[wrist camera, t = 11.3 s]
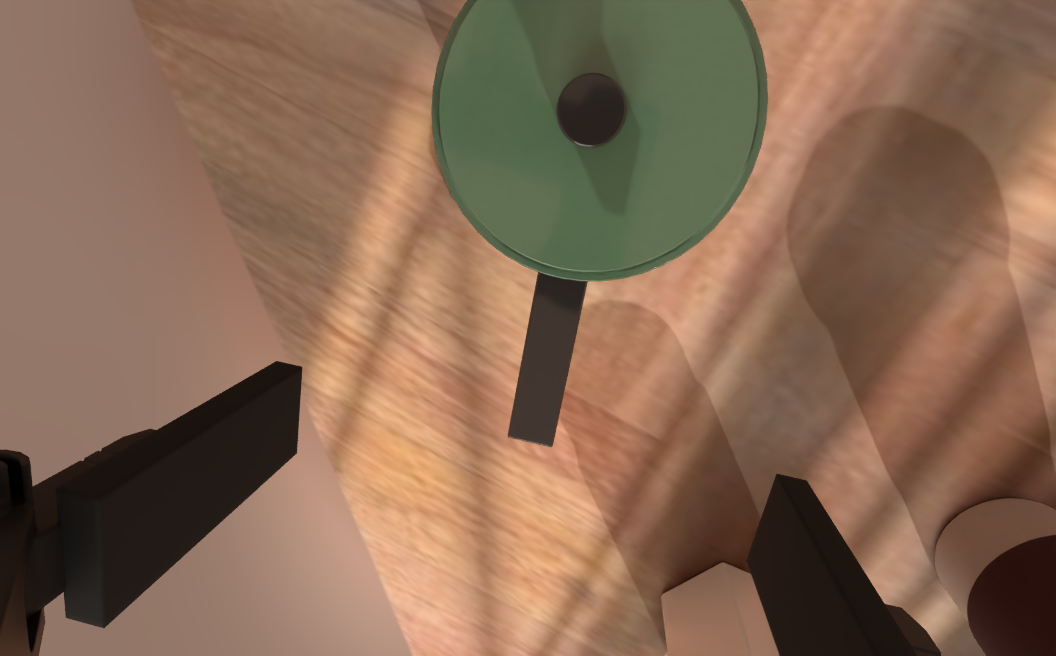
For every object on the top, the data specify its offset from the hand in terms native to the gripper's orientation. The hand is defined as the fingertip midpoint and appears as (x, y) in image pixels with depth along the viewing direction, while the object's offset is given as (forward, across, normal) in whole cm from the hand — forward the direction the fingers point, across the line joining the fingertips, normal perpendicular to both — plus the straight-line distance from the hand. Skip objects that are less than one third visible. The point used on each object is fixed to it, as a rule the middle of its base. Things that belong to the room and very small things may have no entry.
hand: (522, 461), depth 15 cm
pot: (+16, 0, +6) cm, 17 cm away
